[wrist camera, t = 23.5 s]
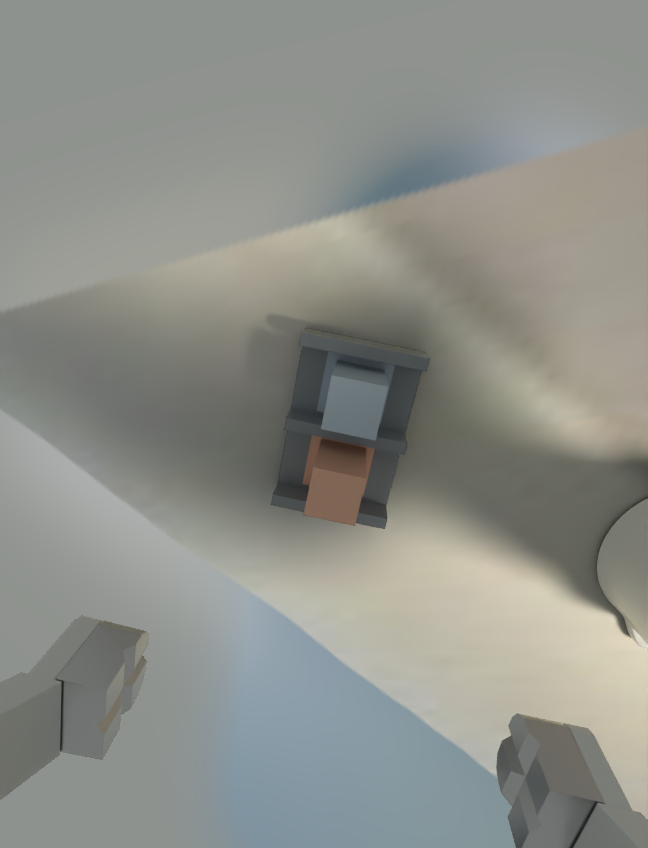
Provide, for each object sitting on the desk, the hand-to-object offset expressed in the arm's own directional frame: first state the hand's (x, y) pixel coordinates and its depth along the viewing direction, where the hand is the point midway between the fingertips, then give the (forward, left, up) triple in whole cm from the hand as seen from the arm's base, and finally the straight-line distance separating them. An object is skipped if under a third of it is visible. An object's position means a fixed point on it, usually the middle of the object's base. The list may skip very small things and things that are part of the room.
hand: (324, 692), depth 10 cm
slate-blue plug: (0, 0, -30) cm, 30 cm away
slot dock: (0, +3, -31) cm, 31 cm away
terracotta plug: (0, +7, -30) cm, 31 cm away
